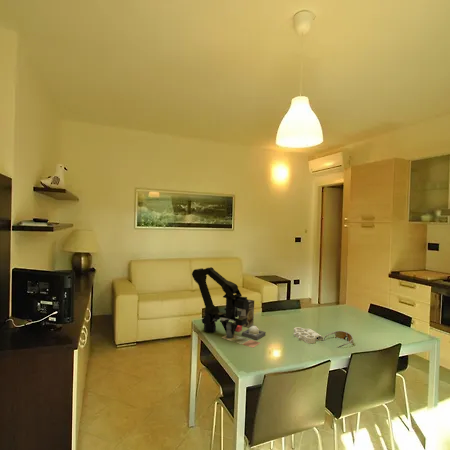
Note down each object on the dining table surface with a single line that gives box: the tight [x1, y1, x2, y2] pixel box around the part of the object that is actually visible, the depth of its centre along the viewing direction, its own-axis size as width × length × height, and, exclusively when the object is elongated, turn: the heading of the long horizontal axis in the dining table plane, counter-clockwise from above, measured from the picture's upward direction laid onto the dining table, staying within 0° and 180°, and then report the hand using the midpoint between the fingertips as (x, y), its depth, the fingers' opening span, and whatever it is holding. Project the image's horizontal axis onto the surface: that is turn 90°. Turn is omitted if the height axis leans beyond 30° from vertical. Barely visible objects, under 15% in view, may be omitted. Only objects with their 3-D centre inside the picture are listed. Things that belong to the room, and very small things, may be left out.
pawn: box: [225, 321, 233, 338], centre depth 175 cm, size 5×5×9 cm
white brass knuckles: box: [293, 326, 324, 344], centre depth 182 cm, size 3×18×15 cm
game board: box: [220, 334, 261, 348], centre depth 171 cm, size 22×10×1 cm, turn 54°
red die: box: [235, 325, 243, 333], centre depth 187 cm, size 4×4×4 cm
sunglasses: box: [322, 330, 354, 349], centre depth 176 cm, size 14×15×5 cm
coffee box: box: [238, 298, 255, 329], centre depth 198 cm, size 9×6×16 cm
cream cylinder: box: [248, 325, 260, 335], centre depth 179 cm, size 6×6×6 cm
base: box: [241, 328, 266, 341], centre depth 179 cm, size 10×10×3 cm
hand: (229, 333), depth 175 cm, fingers closed on pawn, 4 cm apart
